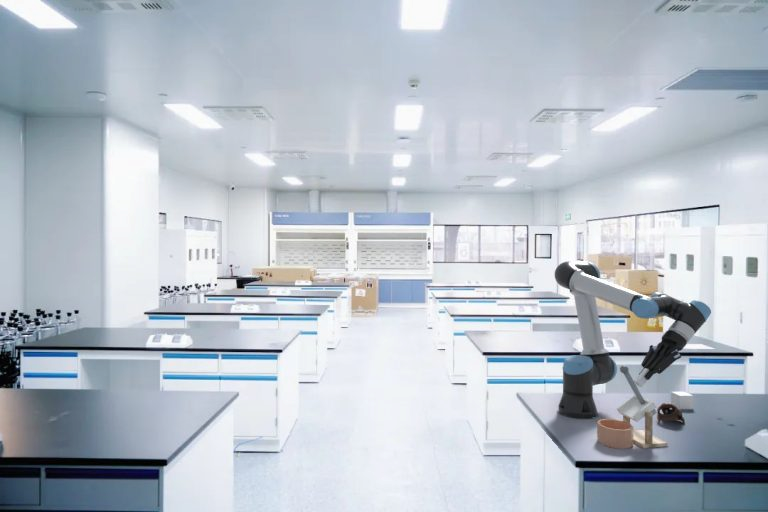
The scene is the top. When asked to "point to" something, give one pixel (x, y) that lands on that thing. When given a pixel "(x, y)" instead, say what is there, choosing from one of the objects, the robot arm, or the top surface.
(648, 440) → the lever stand
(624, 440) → the terracotta round bowl
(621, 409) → the lever
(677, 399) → the white cube
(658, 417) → the dark brown skull
